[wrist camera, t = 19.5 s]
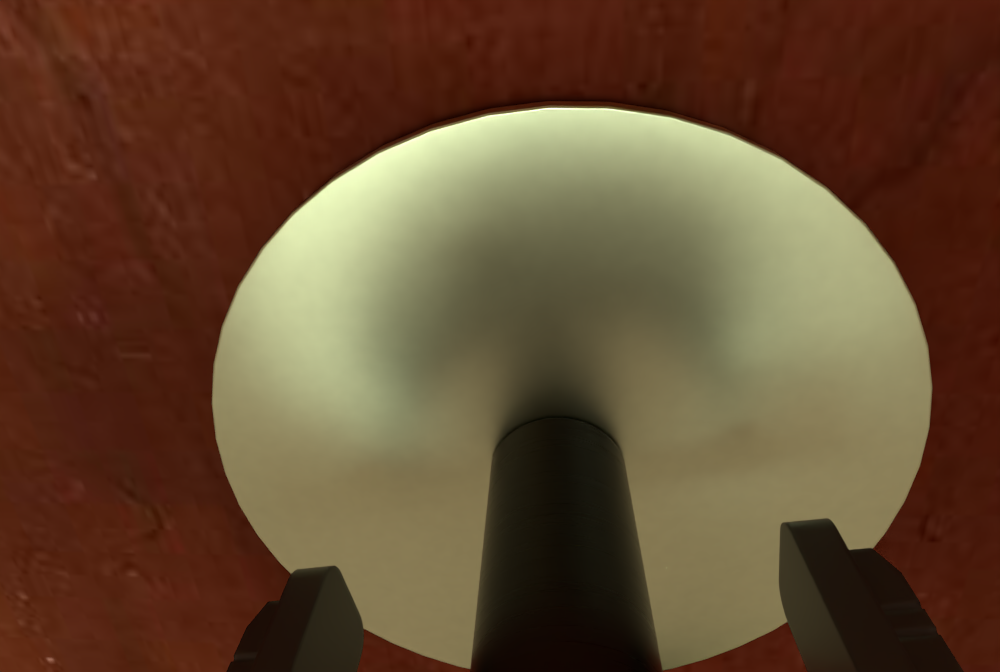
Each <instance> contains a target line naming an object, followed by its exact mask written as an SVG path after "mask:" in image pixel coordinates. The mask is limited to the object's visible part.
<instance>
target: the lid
mask: <svg viewBox="0 0 1000 672" xmlns="http://www.w3.org/2000/svg"><path fill="white" fill-rule="evenodd" d="M931 400H932V378H931V369H930V359H929V350H928V343H927V340H926V337H925V333H924V330H923V326H922V323H921V320H920V316H919V313H918V309H917V306H916V303H915V301H914V299H913V297H912V295H911V293H910V291H909V289H908V287H907V285H906V283H905V281H904V279H903V277H902V275H901V273H900V271H899V269H898V267H897V265H896V263H895V261H894V260H893V259H892V257H891V256H890V255H889V253H888V252H887V251H886V249H885V248H884V247H883V245H882V244H881V243H880V241H879V240H878V239H877V238H876V236H875V235H874V234H873V232H872V231H871V230H870V228H869V227H868V226H867V224H866V223H865V222H864V221H863V220H862V219H861V218H860V217H859V216H858V215H857V214H856V213H855V212H853V211H852V210H851V209H850V208H849V207H848V206H847V205H846V204H845V203H844V202H843V201H842V200H841V199H840V198H839V197H837V196H836V195H835V194H834V193H833V192H832V191H831V190H830V189H829V188H828V187H827V186H825V185H824V184H822V183H821V182H819V181H818V180H816V179H815V178H813V177H812V176H810V175H809V174H807V173H806V172H804V171H803V170H801V169H800V168H798V167H797V166H796V165H794V164H793V163H791V162H790V161H788V160H787V159H785V158H784V157H782V156H781V155H779V154H778V153H776V152H775V151H773V150H771V149H769V148H766V147H764V146H762V145H760V144H758V143H756V142H754V141H751V140H749V139H747V138H745V137H743V136H741V135H739V134H737V133H734V132H732V131H730V130H728V129H726V128H724V127H721V126H717V125H714V124H711V123H707V122H704V121H701V120H697V119H694V118H691V117H687V116H684V115H681V114H677V113H674V112H671V111H667V110H661V109H654V108H647V107H641V106H634V105H627V104H621V103H614V102H597V101H544V102H536V103H529V104H521V105H513V106H505V107H497V108H489V109H486V110H482V111H478V112H475V113H471V114H467V115H464V116H460V117H456V118H453V119H449V120H445V121H442V122H438V123H434V124H432V125H429V126H427V127H425V128H422V129H420V130H418V131H415V132H413V133H411V134H408V135H406V136H404V137H401V138H399V139H397V140H394V141H392V142H390V143H387V144H385V145H383V146H381V147H379V148H378V149H376V150H375V151H373V152H371V153H370V154H368V155H366V156H365V157H363V158H362V159H360V160H358V161H357V162H355V163H353V164H352V165H350V166H348V167H347V168H345V169H344V170H342V171H340V172H339V173H337V174H336V175H335V176H334V177H332V178H331V179H330V180H329V181H328V182H327V183H325V184H324V185H323V186H322V187H321V188H319V189H318V190H317V191H316V192H315V193H313V194H312V195H311V196H310V197H309V198H308V199H306V200H305V201H304V202H303V203H302V204H300V205H299V206H298V207H297V208H296V209H295V210H294V211H293V212H292V213H291V214H290V215H289V216H288V217H287V218H286V220H285V221H284V222H283V223H282V224H281V225H280V227H279V228H278V229H277V230H276V231H275V232H274V234H273V235H272V236H271V237H270V238H269V239H268V240H267V242H266V243H265V244H264V245H263V246H262V247H261V249H260V251H259V252H258V254H257V255H256V257H255V259H254V260H253V262H252V264H251V265H250V267H249V268H248V270H247V272H246V273H245V275H244V277H243V278H242V280H241V281H240V283H239V285H238V287H237V289H236V292H235V294H234V297H233V299H232V302H231V304H230V306H229V309H228V311H227V314H226V316H225V319H224V321H223V324H222V328H221V332H220V337H219V341H218V346H217V350H216V355H215V360H214V366H213V386H212V410H213V419H214V427H215V436H216V442H217V445H218V449H219V452H220V456H221V460H222V463H223V467H224V471H225V474H226V476H227V479H228V481H229V483H230V485H231V488H232V490H233V492H234V495H235V497H236V499H237V501H238V504H239V506H240V507H241V509H242V511H243V512H244V514H245V516H246V517H247V519H248V521H249V522H250V524H251V525H252V527H253V529H254V530H255V532H256V534H257V535H258V537H259V538H260V539H261V540H262V541H263V543H264V544H265V545H266V546H267V548H268V549H269V550H270V551H271V553H272V554H273V555H274V556H275V558H276V559H277V560H278V561H279V563H280V564H281V565H282V566H283V567H284V568H285V569H286V570H287V571H288V572H289V573H291V574H292V573H293V572H294V571H295V570H296V569H304V568H314V567H324V566H337V567H338V568H339V569H340V571H341V573H342V576H343V578H344V580H345V582H346V584H347V587H348V589H349V591H350V593H351V596H352V598H353V600H354V602H355V604H356V607H357V609H358V611H359V613H360V616H361V619H362V623H363V629H365V630H367V631H369V632H371V633H373V634H375V635H377V636H379V637H381V638H383V639H385V640H387V641H389V642H391V643H393V644H396V645H398V646H400V647H403V648H405V649H408V650H410V651H413V652H415V653H418V654H420V655H423V656H426V657H429V658H432V659H435V660H439V661H442V662H445V663H448V664H452V665H455V666H459V667H463V668H468V669H470V672H663V670H668V669H672V668H676V667H679V666H683V665H687V664H690V663H694V662H697V661H701V660H705V659H708V658H710V657H713V656H716V655H718V654H721V653H724V652H726V651H729V650H732V649H734V648H737V647H740V646H742V645H744V644H746V643H748V642H750V641H752V640H754V639H756V638H758V637H760V636H762V635H765V634H767V633H769V632H771V631H773V630H775V629H776V628H778V627H780V626H781V625H783V624H784V623H786V622H788V621H787V619H786V616H785V613H784V609H783V606H782V601H781V597H780V591H779V548H780V526H781V524H782V523H783V522H793V521H803V520H813V519H823V518H828V519H830V520H831V521H832V522H833V523H834V525H835V526H836V528H837V529H838V531H839V533H840V535H841V537H842V538H843V540H844V542H845V544H846V546H847V547H848V549H849V550H853V549H863V548H872V549H873V548H874V547H875V545H876V544H877V543H878V542H879V540H880V539H881V538H882V537H883V535H884V534H885V533H886V531H887V530H888V528H889V526H890V525H891V523H892V522H893V520H894V518H895V517H896V515H897V513H898V512H899V510H900V508H901V507H902V505H903V503H904V502H905V500H906V498H907V495H908V493H909V491H910V488H911V486H912V483H913V481H914V479H915V476H916V474H917V472H918V469H919V467H920V464H921V460H922V456H923V452H924V448H925V444H926V440H927V436H928V432H929V428H930V414H931Z"/></svg>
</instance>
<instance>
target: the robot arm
mask: <svg viewBox="0 0 1000 672" xmlns="http://www.w3.org/2000/svg"><path fill="white" fill-rule="evenodd" d="M779 591H780V597H781V601H782V606H783V609H784V613H785V616H786V619H787V621H788V624H789V627H790V629H791V632H792V634H793V637H794V639H795V642H796V644H797V647H798V649H799V651H800V654H801V656H802V659H803V661H804V664H805V666H806V669H807V671H808V672H963V670H962V668H961V667H960V665H959V664H958V662H957V660H956V659H955V657H954V656H953V654H952V653H951V651H950V649H949V648H948V646H947V645H946V643H945V641H944V640H943V638H942V637H941V635H938V633H937V631H936V627H935V626H934V624H933V622H932V621H931V619H930V618H929V616H928V614H927V613H926V611H925V610H924V609H922V608H921V605H920V602H919V600H918V599H917V597H916V595H915V594H914V592H913V591H912V589H911V587H910V586H909V584H908V583H907V581H906V579H905V578H904V576H903V575H902V573H901V572H900V571H899V570H897V569H896V568H895V567H894V566H893V565H891V564H890V563H889V562H888V561H887V560H885V559H884V558H883V557H882V556H881V555H879V554H878V553H877V552H876V551H875V550H873V549H872V548H863V549H853V550H849V549H848V547H847V546H846V544H845V542H844V540H843V538H842V537H841V535H840V533H839V531H838V529H837V528H836V526H835V525H834V523H833V522H832V521H831V520H830V519H828V518H823V519H813V520H803V521H793V522H783V523H782V524H781V526H780V548H779ZM363 639H364V632H363V623H362V619H361V616H360V613H359V611H358V609H357V607H356V604H355V602H354V600H353V598H352V596H351V593H350V591H349V589H348V587H347V584H346V582H345V580H344V578H343V576H342V573H341V571H340V569H339V568H338V567H337V566H324V567H314V568H304V569H296V570H295V571H294V572H293V573H292V574H291V575H290V577H289V579H288V582H287V584H286V586H285V589H284V591H283V593H282V596H281V598H280V601H272V602H268V603H267V604H266V605H265V606H264V607H263V609H262V610H261V611H260V612H259V613H258V615H257V616H256V617H255V618H254V619H253V621H252V622H251V623H250V624H249V625H248V626H247V628H246V630H245V632H244V634H243V637H242V639H241V641H240V643H239V645H238V648H237V650H236V652H235V654H234V661H233V662H231V663H230V665H229V668H228V670H227V672H357V669H358V665H359V662H360V658H361V654H362V649H363Z"/></svg>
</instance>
